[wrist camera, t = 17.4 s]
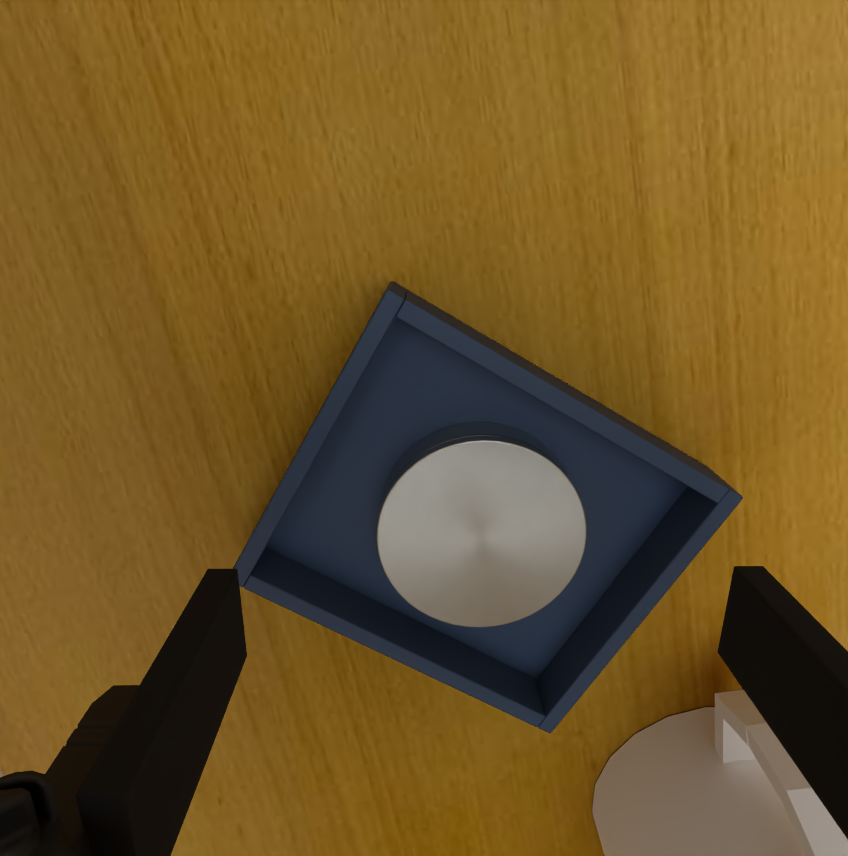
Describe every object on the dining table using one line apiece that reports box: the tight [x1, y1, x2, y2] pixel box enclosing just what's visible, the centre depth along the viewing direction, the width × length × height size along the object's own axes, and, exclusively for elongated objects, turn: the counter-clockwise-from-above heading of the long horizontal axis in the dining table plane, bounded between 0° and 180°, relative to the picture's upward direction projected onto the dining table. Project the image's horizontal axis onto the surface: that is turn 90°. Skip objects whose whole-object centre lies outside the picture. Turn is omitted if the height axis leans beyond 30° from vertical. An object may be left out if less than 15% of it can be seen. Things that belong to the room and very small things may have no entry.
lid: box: [376, 422, 587, 627], centre depth 21 cm, size 7×7×2 cm
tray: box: [233, 281, 743, 733], centre depth 21 cm, size 13×11×3 cm
